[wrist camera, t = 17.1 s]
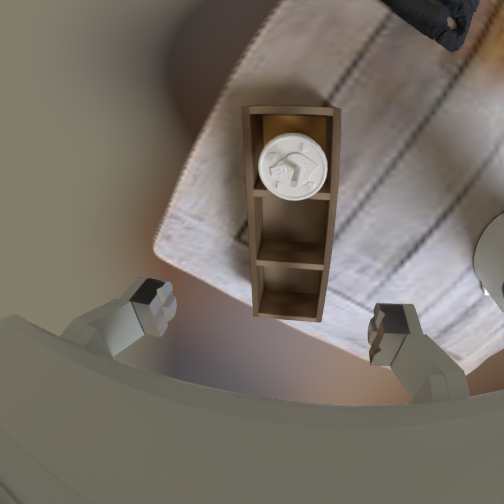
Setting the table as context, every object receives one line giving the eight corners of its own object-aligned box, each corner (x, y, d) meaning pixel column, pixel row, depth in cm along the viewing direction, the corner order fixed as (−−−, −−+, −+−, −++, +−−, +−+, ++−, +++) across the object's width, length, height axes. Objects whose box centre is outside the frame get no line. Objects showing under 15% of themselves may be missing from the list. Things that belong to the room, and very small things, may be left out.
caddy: (335, 107, 29) (341, 108, 23) (321, 294, 44) (321, 322, 38) (251, 105, 31) (239, 107, 26) (259, 289, 46) (251, 316, 40)
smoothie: (329, 168, 32) (333, 219, 21) (279, 174, 34) (255, 226, 23) (321, 118, 29) (322, 138, 18) (268, 126, 31) (236, 151, 20)
